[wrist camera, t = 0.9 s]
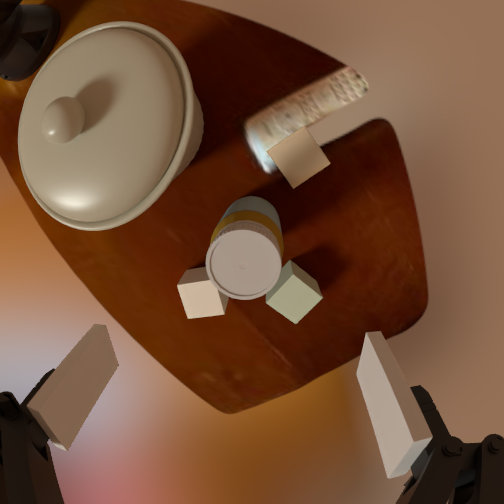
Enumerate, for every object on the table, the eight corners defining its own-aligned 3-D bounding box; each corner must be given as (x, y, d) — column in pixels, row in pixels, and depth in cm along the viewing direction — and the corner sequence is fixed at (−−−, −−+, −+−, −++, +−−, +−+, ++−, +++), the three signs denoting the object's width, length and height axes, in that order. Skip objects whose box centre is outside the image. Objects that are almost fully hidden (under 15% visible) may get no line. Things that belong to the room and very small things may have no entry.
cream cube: (186, 269, 40) (176, 285, 36) (220, 263, 40) (214, 279, 35) (196, 300, 42) (188, 318, 37) (228, 296, 41) (224, 314, 37)
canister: (227, 194, 36) (181, 247, 17) (104, 202, 37) (-4, 250, 18) (224, 58, 30) (179, -30, 11) (99, 81, 31) (-9, 53, 12)
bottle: (274, 191, 36) (280, 217, 22) (282, 243, 38) (291, 298, 24) (220, 200, 37) (191, 231, 23) (230, 251, 39) (210, 308, 25)
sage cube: (266, 285, 40) (266, 302, 36) (289, 259, 39) (293, 274, 34) (292, 305, 41) (295, 324, 37) (316, 280, 40) (322, 297, 35)
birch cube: (266, 151, 34) (266, 151, 30) (299, 129, 33) (304, 125, 29) (289, 183, 36) (293, 188, 31) (322, 162, 35) (330, 163, 30)
